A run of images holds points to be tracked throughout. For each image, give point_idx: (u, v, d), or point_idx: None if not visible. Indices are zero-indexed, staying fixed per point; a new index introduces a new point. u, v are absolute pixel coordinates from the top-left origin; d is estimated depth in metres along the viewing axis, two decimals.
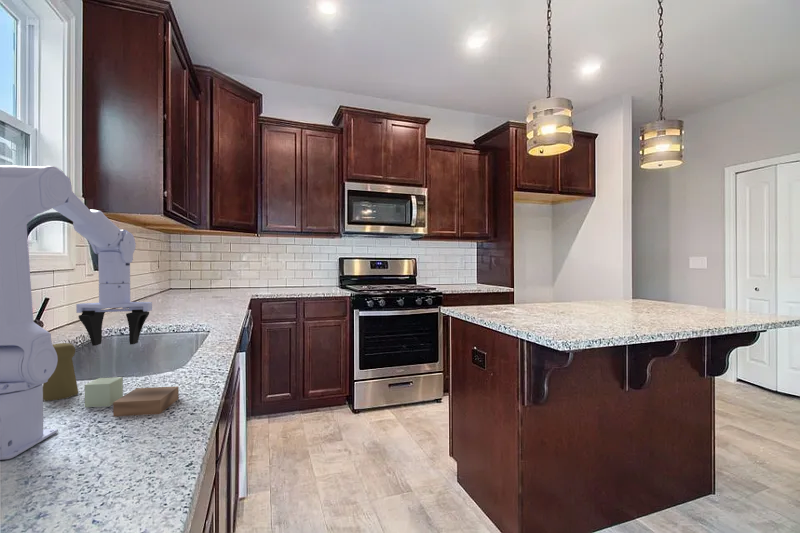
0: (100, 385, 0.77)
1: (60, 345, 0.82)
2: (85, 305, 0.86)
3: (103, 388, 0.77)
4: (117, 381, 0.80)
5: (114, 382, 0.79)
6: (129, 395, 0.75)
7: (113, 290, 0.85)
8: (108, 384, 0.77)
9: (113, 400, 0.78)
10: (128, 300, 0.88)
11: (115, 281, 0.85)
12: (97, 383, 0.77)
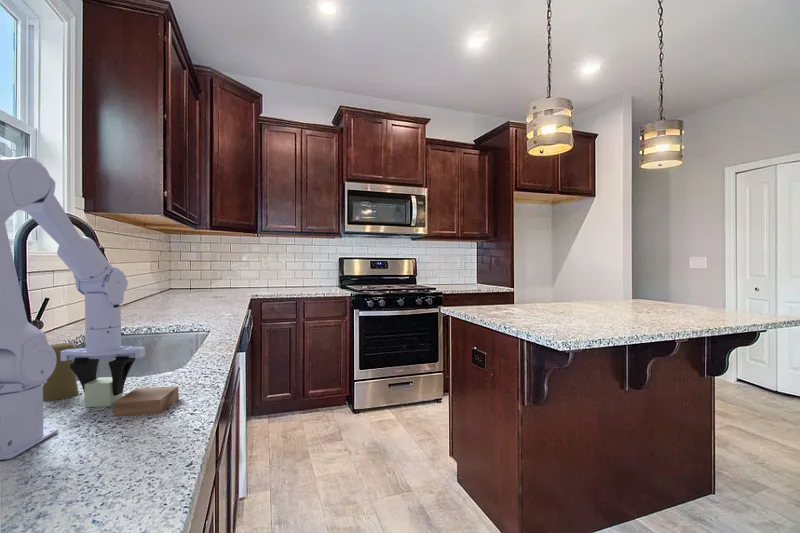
0: (100, 384, 0.77)
1: (60, 345, 0.82)
2: (70, 352, 0.77)
3: (103, 387, 0.77)
4: None
5: None
6: (129, 395, 0.75)
7: (101, 336, 0.76)
8: (108, 383, 0.77)
9: (113, 399, 0.78)
10: (119, 345, 0.79)
11: (101, 326, 0.76)
12: (97, 382, 0.77)
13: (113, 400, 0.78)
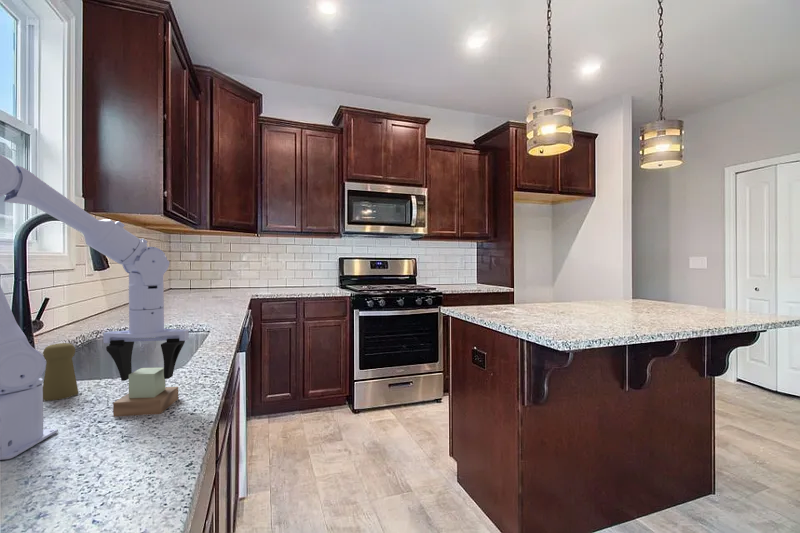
0: (144, 375, 0.74)
1: (60, 345, 0.82)
2: (113, 334, 0.74)
3: (147, 378, 0.74)
4: (160, 371, 0.77)
5: (158, 372, 0.76)
6: None
7: (146, 317, 0.74)
8: (153, 374, 0.74)
9: (157, 391, 0.76)
10: (162, 328, 0.77)
11: (135, 307, 0.73)
12: (141, 373, 0.75)
13: (157, 391, 0.76)
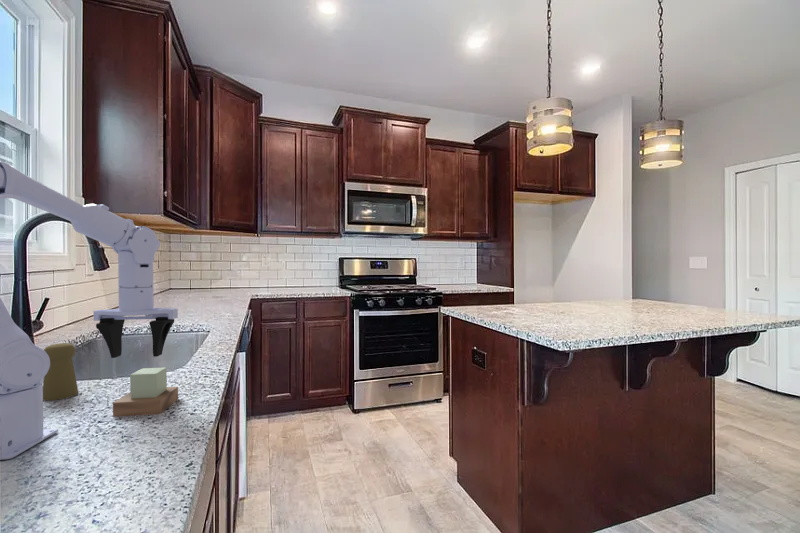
0: (146, 375, 0.74)
1: (60, 345, 0.82)
2: (103, 312, 0.75)
3: (149, 378, 0.74)
4: (162, 371, 0.77)
5: (159, 372, 0.76)
6: (128, 396, 0.75)
7: (135, 295, 0.75)
8: (154, 374, 0.75)
9: (159, 391, 0.76)
10: (152, 306, 0.78)
11: (127, 285, 0.74)
12: (143, 373, 0.75)
13: (159, 391, 0.76)
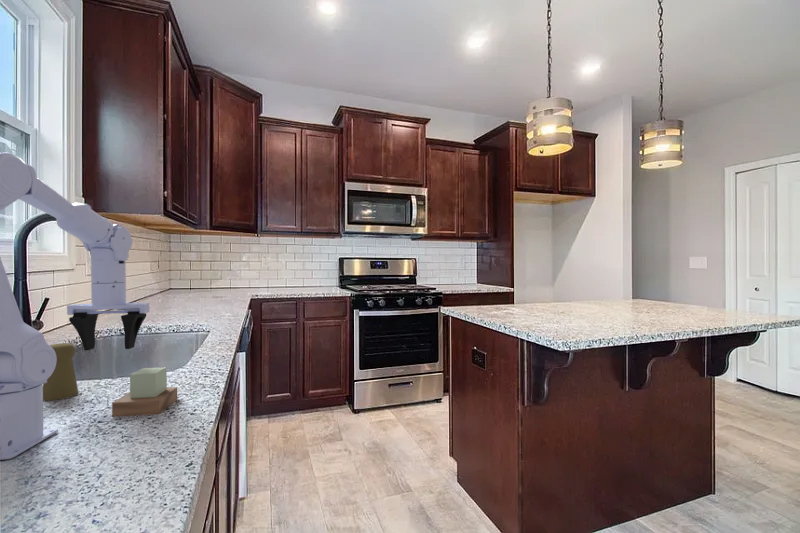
0: (146, 375, 0.74)
1: (60, 345, 0.82)
2: (76, 306, 0.79)
3: (148, 377, 0.74)
4: (162, 371, 0.77)
5: (159, 372, 0.76)
6: (128, 396, 0.75)
7: (107, 290, 0.78)
8: (154, 374, 0.75)
9: (158, 390, 0.76)
10: (124, 301, 0.81)
11: (106, 280, 0.78)
12: (142, 373, 0.75)
13: (158, 391, 0.76)
